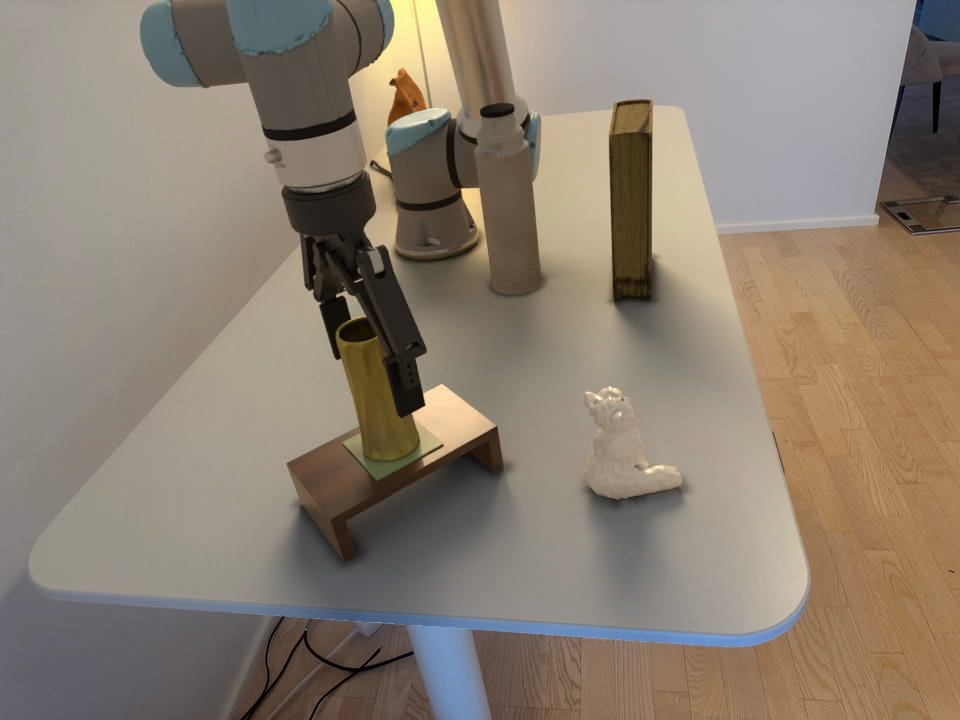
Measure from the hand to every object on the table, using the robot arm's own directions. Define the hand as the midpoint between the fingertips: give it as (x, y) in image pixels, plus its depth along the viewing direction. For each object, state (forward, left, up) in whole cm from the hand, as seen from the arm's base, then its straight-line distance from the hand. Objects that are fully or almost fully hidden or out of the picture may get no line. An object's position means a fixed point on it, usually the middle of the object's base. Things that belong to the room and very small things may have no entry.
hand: (377, 380), depth 72 cm
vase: (0, 0, -8) cm, 8 cm away
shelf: (0, 0, -14) cm, 14 cm away
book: (-15, +51, -14) cm, 55 cm away
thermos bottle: (-28, +38, -14) cm, 49 cm away
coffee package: (-91, +57, -14) cm, 108 cm away
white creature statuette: (+16, +18, -14) cm, 28 cm away
